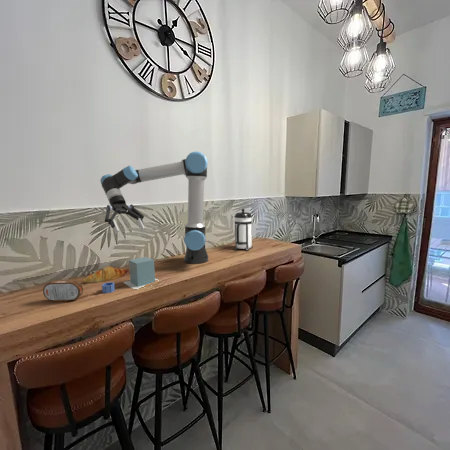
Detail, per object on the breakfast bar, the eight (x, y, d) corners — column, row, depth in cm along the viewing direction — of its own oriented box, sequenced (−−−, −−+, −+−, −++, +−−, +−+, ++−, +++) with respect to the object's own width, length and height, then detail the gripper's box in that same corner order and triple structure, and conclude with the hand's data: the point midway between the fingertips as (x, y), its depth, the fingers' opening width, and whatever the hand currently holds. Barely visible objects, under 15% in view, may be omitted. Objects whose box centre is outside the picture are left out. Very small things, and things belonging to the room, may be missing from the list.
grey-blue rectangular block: (147, 278, 133) (145, 256, 131) (155, 282, 126) (153, 259, 125) (130, 282, 127) (128, 260, 125) (138, 286, 121) (136, 263, 119)
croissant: (85, 292, 125) (85, 280, 122) (80, 278, 132) (80, 266, 128) (129, 281, 139) (131, 270, 135) (123, 269, 145) (124, 258, 141)
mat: (149, 276, 136) (149, 275, 136) (163, 282, 126) (163, 282, 126) (122, 283, 127) (122, 282, 127) (135, 290, 117) (134, 289, 117)
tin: (84, 298, 110) (82, 278, 109) (80, 301, 107) (78, 281, 106) (47, 299, 110) (45, 280, 108) (42, 302, 106) (40, 282, 105)
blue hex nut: (114, 288, 120) (114, 281, 119) (114, 292, 115) (114, 285, 115) (102, 290, 118) (102, 283, 117) (102, 294, 113) (101, 286, 113)
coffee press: (229, 248, 199) (228, 208, 195) (248, 246, 204) (248, 207, 200) (237, 253, 183) (236, 210, 179) (258, 251, 187) (258, 209, 183)
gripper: (135, 203, 150) (150, 232, 142) (89, 204, 131) (103, 238, 123) (140, 194, 145) (155, 224, 138) (93, 194, 127) (108, 228, 119)
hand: (130, 230), depth 130 cm, fingers open, 13 cm apart
